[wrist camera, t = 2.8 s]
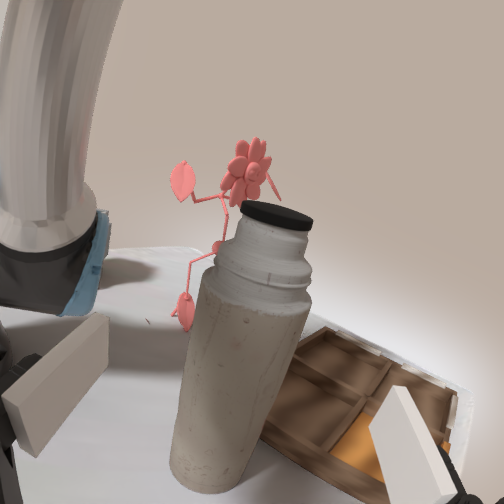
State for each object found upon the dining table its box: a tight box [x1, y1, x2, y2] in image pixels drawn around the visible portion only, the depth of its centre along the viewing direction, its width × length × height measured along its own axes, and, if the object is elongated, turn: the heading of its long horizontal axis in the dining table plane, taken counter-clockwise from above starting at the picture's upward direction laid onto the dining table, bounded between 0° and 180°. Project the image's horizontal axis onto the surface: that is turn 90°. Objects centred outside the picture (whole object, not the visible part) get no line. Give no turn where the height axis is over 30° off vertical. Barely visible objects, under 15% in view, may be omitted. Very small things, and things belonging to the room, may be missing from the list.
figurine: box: [145, 137, 281, 332], centre depth 54 cm, size 15×26×35 cm, turn 145°
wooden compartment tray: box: [259, 326, 458, 504], centre depth 42 cm, size 31×31×4 cm
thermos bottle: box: [169, 200, 313, 494], centre depth 25 cm, size 8×8×28 cm
